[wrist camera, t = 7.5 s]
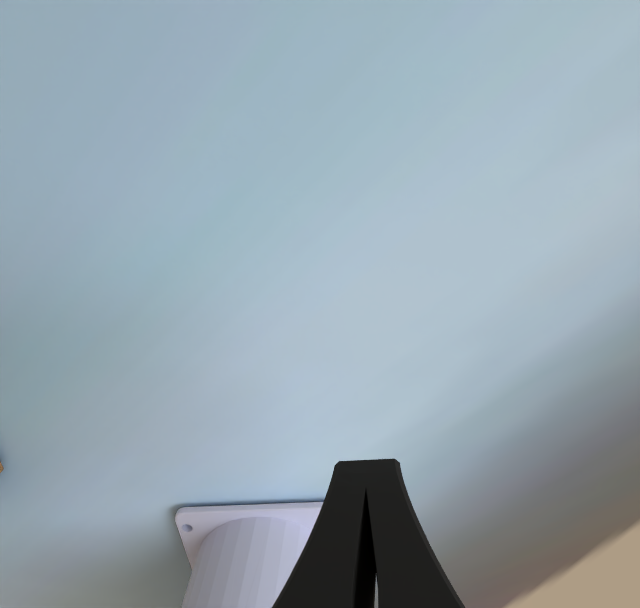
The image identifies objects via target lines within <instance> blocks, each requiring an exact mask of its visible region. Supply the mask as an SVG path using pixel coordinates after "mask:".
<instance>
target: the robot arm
mask: <svg viewBox="0 0 640 608" xmlns="http://www.w3.org/2000/svg"><path fill="white" fill-rule="evenodd" d="M175 522H176V525H177V528H178V531H179V534H180V537H181V540H182V543H183V545H184V548H185V551H186V554H187V557H188V560H189V563H190V566H191V569H192V573H191V577H190V580H189V583H188V586H187V590H186V593H185V596H184V599H183V603H182V606H181V608H374V601H375V582H376V576H377V584H378V608H465V606H464V605H463V603H462V602H461V600H460V598H459V597H458V595H457V593H456V592H455V590H454V588H453V587H452V585H451V583H450V581H449V580H448V578H447V576H446V574H445V572H444V571H443V569H442V567H441V565H440V563H439V561H438V560H437V558H436V556H435V554H434V552H433V550H432V548H431V546H430V544H429V542H428V540H427V538H426V535H425V533H424V531H423V529H422V527H421V525H420V523H419V521H418V518H417V516H416V514H415V511H414V509H413V506H412V504H411V501H410V498H409V496H408V493H407V490H406V487H405V484H404V481H403V477H402V473H401V468H400V463H399V462H398V461H397V460H395V459H378V460H357V461H339V462H338V463H337V464H336V465H335V467H334V471H333V475H332V479H331V482H330V485H329V488H328V491H327V494H326V497H325V500H324V502H306V503H280V504H255V505H229V506H203V507H183V508H180V509H178V510H177V512H176V515H175ZM187 524H188V525H187Z"/></svg>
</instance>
